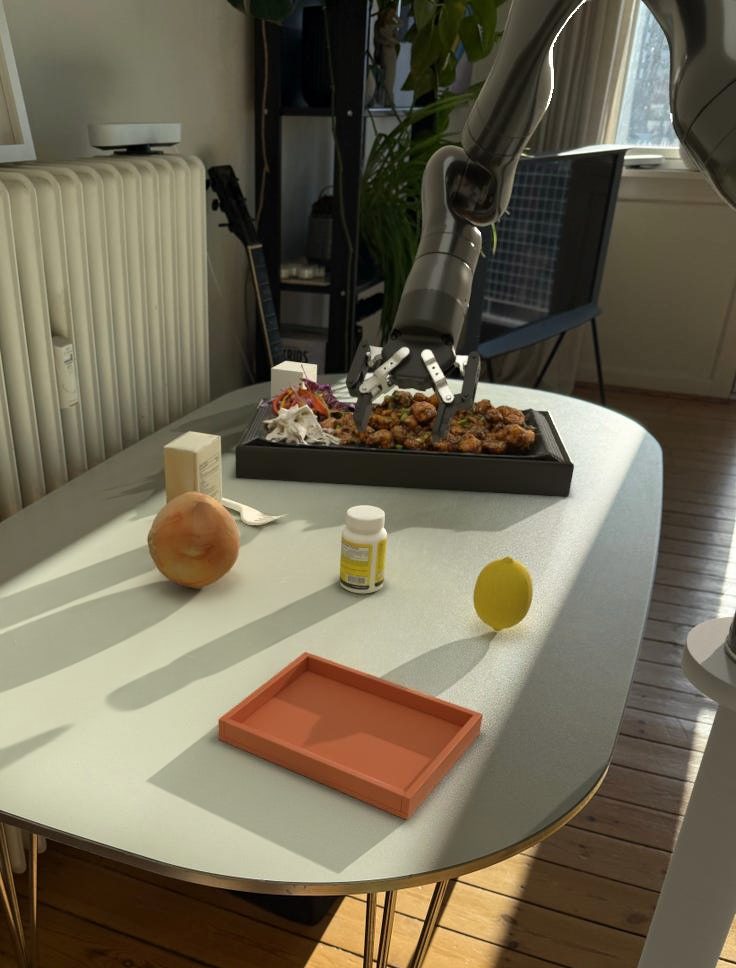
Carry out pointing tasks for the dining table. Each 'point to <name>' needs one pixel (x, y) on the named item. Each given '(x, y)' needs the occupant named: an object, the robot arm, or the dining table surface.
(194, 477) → the cosmetic box
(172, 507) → the onion
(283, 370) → the off-white cube
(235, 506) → the fork
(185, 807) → the dining table surface
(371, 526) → the supplement bottle
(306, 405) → the food platter
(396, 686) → the tray
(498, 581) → the lemon
